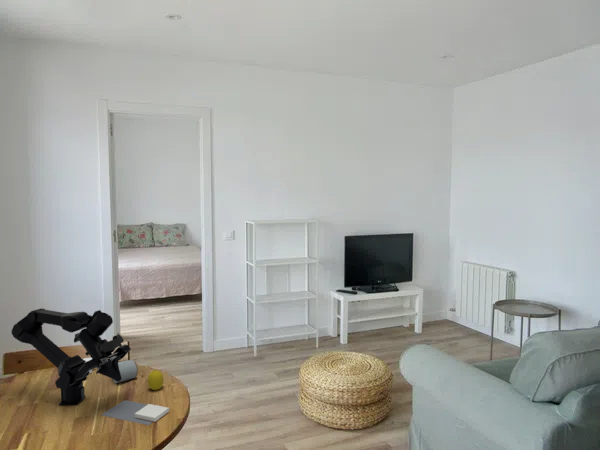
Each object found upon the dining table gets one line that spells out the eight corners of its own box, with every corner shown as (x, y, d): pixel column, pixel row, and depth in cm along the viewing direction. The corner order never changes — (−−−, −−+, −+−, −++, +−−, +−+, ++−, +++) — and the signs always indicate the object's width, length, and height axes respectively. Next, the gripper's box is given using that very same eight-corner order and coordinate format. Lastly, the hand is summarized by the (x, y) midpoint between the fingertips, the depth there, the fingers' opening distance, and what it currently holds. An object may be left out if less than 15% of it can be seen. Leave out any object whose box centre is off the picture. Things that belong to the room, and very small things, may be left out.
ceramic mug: (139, 379, 174) (138, 360, 174) (118, 386, 169) (117, 366, 168) (128, 372, 182) (127, 353, 181) (107, 378, 176) (107, 359, 176)
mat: (100, 417, 145) (100, 414, 145) (124, 402, 155) (124, 400, 155) (148, 427, 139) (148, 425, 139) (170, 411, 149) (170, 408, 149)
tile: (134, 413, 143) (155, 417, 140) (148, 403, 149) (168, 407, 147) (134, 418, 143) (155, 422, 140) (149, 408, 149) (169, 412, 147)
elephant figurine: (97, 367, 187) (97, 353, 187) (96, 374, 180) (95, 360, 179) (79, 369, 185) (79, 355, 184) (77, 376, 177) (76, 362, 177)
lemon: (158, 394, 161) (158, 373, 160) (145, 393, 162) (144, 372, 162) (166, 388, 166) (165, 367, 166) (152, 387, 168) (152, 366, 167)
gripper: (84, 337, 140) (112, 377, 137) (126, 321, 158) (152, 356, 155) (65, 358, 143) (93, 397, 141) (109, 340, 161) (134, 375, 158)
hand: (120, 380), depth 148 cm, fingers closed
